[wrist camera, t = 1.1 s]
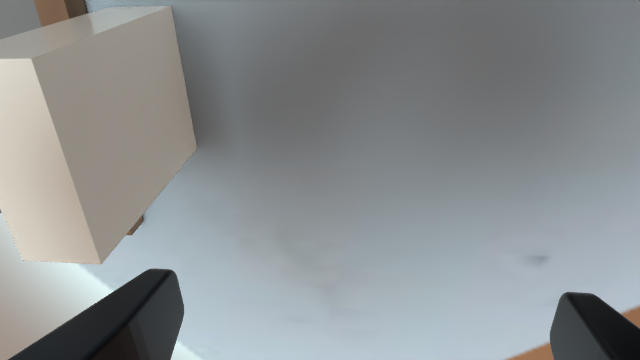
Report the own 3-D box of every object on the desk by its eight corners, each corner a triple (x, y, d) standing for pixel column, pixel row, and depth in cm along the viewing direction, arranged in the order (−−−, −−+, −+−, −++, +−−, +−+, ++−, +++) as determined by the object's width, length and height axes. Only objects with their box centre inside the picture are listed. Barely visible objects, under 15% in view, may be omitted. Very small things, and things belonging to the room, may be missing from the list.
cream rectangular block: (171, 5, 17) (31, 58, 10) (197, 148, 20) (101, 264, 13) (105, 6, 18) (-72, 59, 11) (140, 147, 21) (18, 260, 14)
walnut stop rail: (53, -115, 16) (29, -118, 15) (143, 220, 23) (131, 235, 21) (21, -113, 16) (-4, -116, 15) (120, 220, 23) (108, 234, 22)
